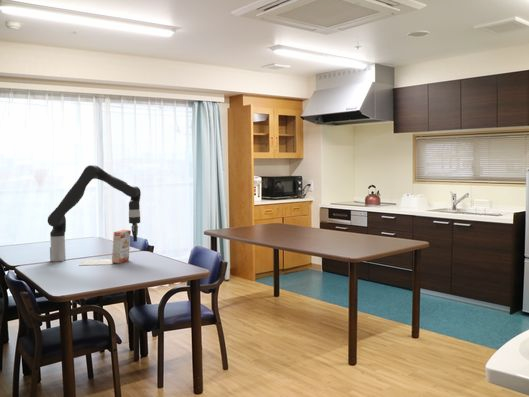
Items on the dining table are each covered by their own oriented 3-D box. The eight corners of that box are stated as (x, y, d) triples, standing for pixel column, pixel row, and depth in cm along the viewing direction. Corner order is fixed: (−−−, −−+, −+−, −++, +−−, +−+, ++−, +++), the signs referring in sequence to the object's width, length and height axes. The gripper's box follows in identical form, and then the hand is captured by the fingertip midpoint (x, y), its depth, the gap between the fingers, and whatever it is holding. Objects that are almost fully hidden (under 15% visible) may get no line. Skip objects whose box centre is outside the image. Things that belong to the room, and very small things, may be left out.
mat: (79, 265, 322) (79, 265, 322) (85, 260, 340) (85, 259, 340) (112, 264, 325) (112, 263, 325) (117, 259, 342) (117, 258, 342)
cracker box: (119, 263, 326) (121, 232, 325) (111, 262, 328) (112, 231, 326) (129, 260, 340) (131, 230, 339) (121, 259, 341) (123, 229, 340)
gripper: (130, 215, 339) (131, 240, 340) (127, 217, 326) (128, 243, 327) (141, 215, 340) (142, 239, 341) (138, 216, 327) (139, 242, 328)
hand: (135, 241), depth 334 cm, fingers closed
